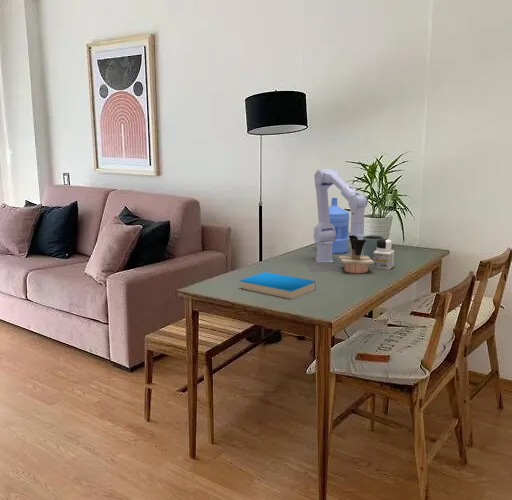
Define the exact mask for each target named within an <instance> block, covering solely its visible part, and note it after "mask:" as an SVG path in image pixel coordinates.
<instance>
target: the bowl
mask: <svg viewBox="0 0 512 500" xmlns="http://www.w3.org/2000/svg"><path fill="white" fill-rule="evenodd" d="M343 266H344V267H343V270H344V272H347V273H351V274H363V273H367V272H368V270H369V264H343Z"/></svg>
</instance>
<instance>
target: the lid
mask: <svg viewBox="0 0 512 500" xmlns="http://www.w3.org/2000/svg"><path fill="white" fill-rule="evenodd" d="M338 258H339V260H340V261H341V262H342V264H343V265H344V264H368V265H373V264H374V262H373V261H372V260H371V259H370V258H369V257H368V256H364V255H356V254H355V249H352V248H351V255H338Z"/></svg>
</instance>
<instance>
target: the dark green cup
mask: <svg viewBox="0 0 512 500" xmlns="http://www.w3.org/2000/svg"><path fill="white" fill-rule="evenodd" d="M363 239H365V240H366V242H365V243H364V245H363V248H362V251H363V256H368V257H369V258H370V259H371V260H372V261H373V252H374V251H376V250H377V240H379V239H386V238H385V236H382V235H377V234H375V235H374V234H369V235H363Z"/></svg>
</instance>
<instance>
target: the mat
mask: <svg viewBox="0 0 512 500" xmlns="http://www.w3.org/2000/svg"><path fill="white" fill-rule="evenodd" d="M306 266H307V268H308V270H309V272H311V273H315V272H319V273H320V272H324V273H325V272H326V273H327V272H345V270H344V268H343V267H342V266H341V265H340V264H339V263H337V262H336V263H333V262H330V263H306Z"/></svg>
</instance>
